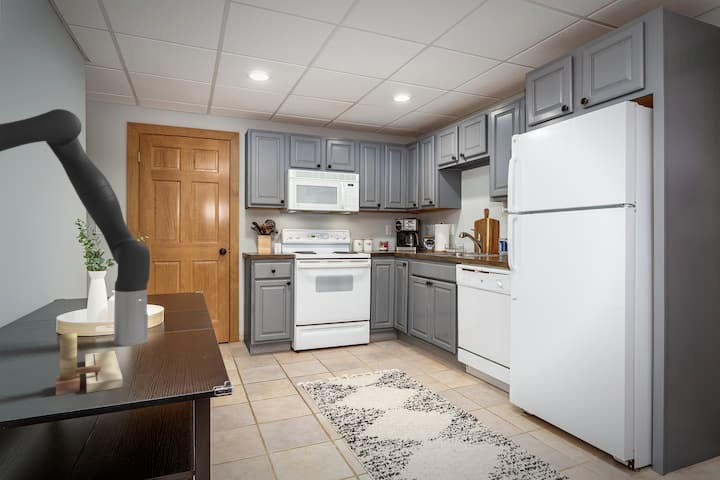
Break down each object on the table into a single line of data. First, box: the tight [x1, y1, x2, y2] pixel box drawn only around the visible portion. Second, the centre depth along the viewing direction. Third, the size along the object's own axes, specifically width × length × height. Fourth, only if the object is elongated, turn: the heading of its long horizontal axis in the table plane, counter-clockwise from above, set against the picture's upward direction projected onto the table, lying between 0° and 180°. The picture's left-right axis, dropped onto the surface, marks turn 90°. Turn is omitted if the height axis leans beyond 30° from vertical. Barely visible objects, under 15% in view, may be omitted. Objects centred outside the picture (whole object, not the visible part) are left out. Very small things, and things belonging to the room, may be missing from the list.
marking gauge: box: [55, 332, 101, 396], centre depth 97 cm, size 8×6×12 cm
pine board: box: [84, 350, 124, 394], centre depth 106 cm, size 7×26×2 cm, turn 34°
